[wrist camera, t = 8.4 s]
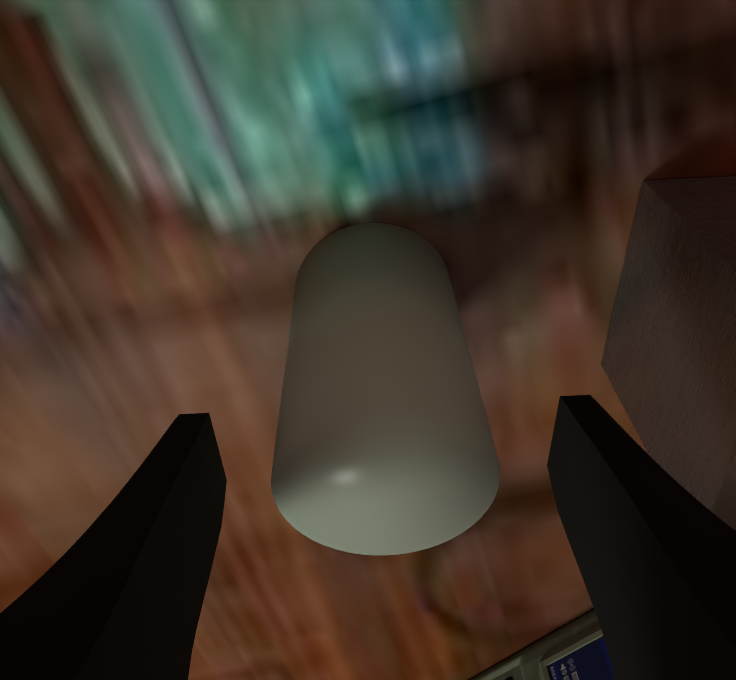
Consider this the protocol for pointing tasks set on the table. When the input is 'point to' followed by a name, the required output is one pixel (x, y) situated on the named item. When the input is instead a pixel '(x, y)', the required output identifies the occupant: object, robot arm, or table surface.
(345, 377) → the plug
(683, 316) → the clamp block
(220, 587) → the table surface
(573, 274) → the table surface
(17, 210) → the table surface
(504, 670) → the handheld radio
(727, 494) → the pale grey rectangular box
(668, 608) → the robot arm
